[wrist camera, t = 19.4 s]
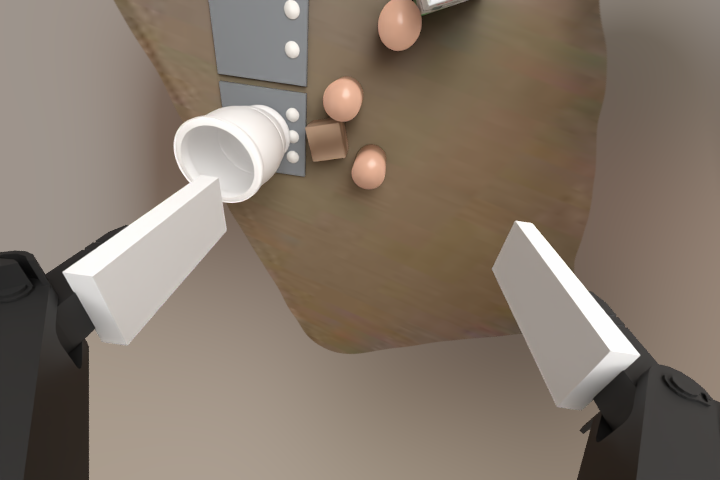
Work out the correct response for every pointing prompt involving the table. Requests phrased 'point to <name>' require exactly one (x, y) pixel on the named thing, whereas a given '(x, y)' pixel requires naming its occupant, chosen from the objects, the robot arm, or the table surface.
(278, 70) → the pad two
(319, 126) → the walnut block
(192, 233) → the robot arm
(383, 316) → the table surface
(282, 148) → the jar
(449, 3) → the ink box
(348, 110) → the pink rounded piece
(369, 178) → the pink rounded piece
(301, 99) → the pad three
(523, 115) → the table surface
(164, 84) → the table surface
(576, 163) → the table surface
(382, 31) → the tan rounded block
